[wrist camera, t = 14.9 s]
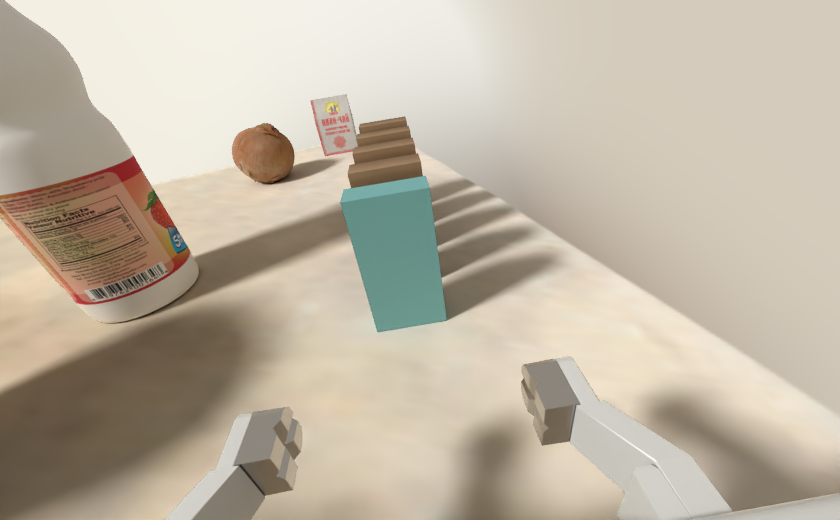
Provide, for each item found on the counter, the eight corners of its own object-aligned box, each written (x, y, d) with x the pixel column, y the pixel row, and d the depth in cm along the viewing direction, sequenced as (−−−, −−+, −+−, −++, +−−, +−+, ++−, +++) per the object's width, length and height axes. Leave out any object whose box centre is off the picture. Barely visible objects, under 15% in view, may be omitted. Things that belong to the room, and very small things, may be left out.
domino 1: (419, 207, 41) (406, 119, 36) (378, 214, 41) (358, 127, 36) (417, 201, 43) (405, 116, 37) (378, 207, 43) (359, 124, 37)
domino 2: (424, 226, 37) (409, 130, 32) (378, 233, 37) (356, 139, 32) (422, 218, 39) (408, 125, 33) (378, 225, 39) (357, 134, 33)
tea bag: (326, 151, 71) (312, 99, 66) (359, 145, 71) (346, 93, 66) (325, 156, 68) (309, 101, 63) (358, 150, 68) (345, 95, 63)
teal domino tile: (446, 320, 24) (429, 187, 19) (377, 332, 24) (340, 202, 19) (442, 302, 26) (425, 175, 21) (377, 313, 26) (343, 189, 21)
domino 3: (429, 249, 33) (414, 143, 27) (378, 258, 33) (352, 153, 27) (427, 239, 34) (412, 137, 29) (378, 247, 34) (354, 147, 29)
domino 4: (437, 279, 29) (420, 161, 23) (377, 290, 28) (347, 174, 23) (433, 266, 30) (417, 153, 25) (378, 276, 30) (349, 165, 25)
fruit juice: (68, 318, 31) (-338, -116, 16) (162, 261, 39) (-60, -77, 23) (132, 334, 28) (-307, -195, 13) (222, 268, 35) (7, -122, 20)
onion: (301, 189, 62) (310, 134, 58) (258, 197, 54) (265, 133, 50) (263, 169, 65) (269, 114, 60) (216, 173, 57) (219, 110, 52)
